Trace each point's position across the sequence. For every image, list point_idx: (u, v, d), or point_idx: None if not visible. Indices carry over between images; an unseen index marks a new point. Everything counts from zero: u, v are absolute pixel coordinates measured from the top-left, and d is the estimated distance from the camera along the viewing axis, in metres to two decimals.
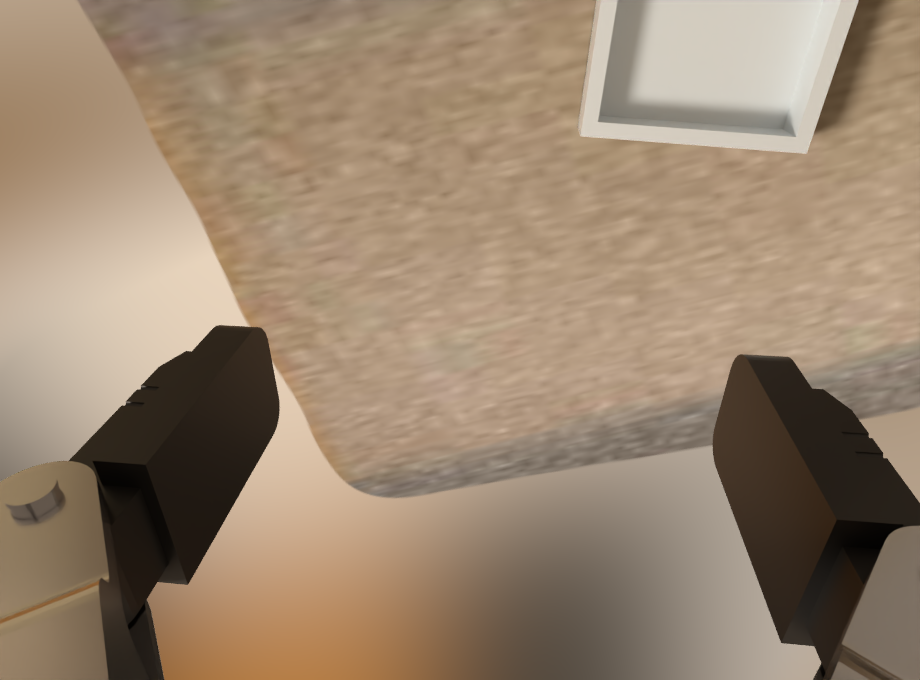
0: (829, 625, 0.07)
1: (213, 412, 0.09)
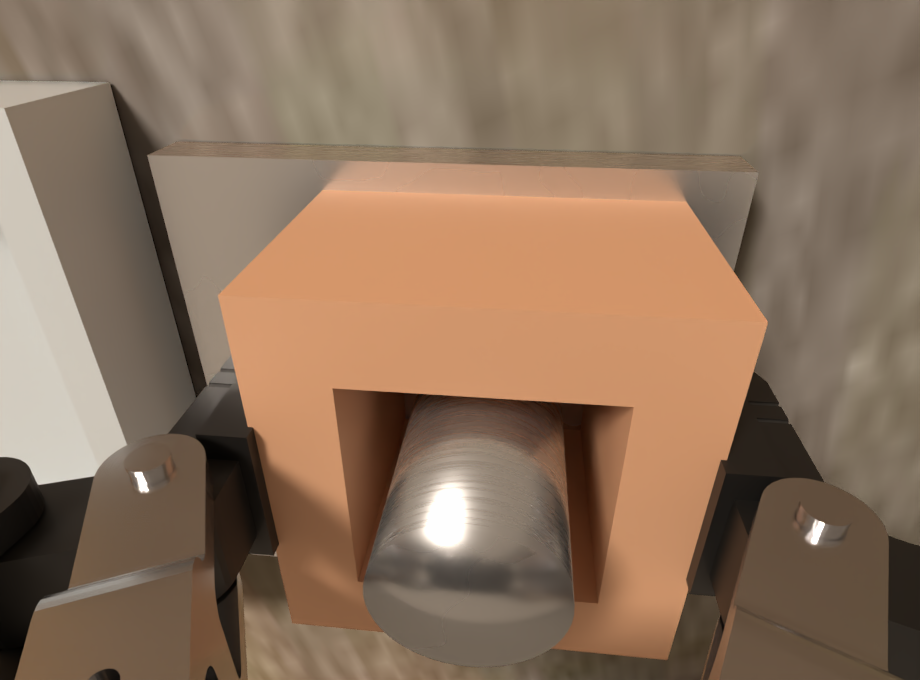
0: (725, 573, 0.07)
1: None
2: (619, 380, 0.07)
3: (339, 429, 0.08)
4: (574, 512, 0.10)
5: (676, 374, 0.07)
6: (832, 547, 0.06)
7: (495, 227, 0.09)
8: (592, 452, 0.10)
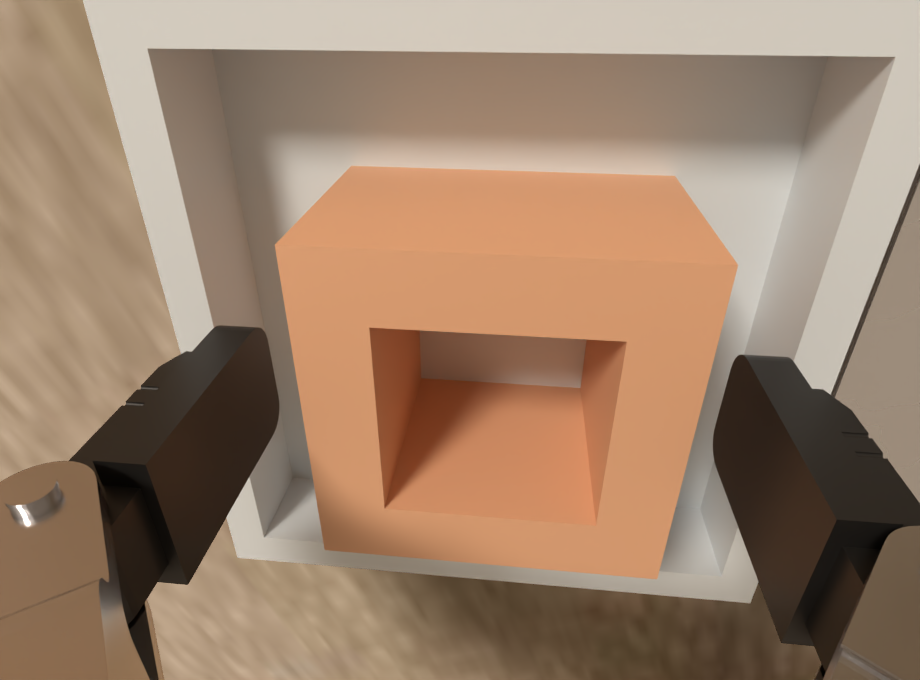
0: (829, 625, 0.07)
1: (213, 413, 0.09)
2: (614, 318, 0.08)
3: (373, 364, 0.09)
4: (575, 454, 0.12)
5: (662, 312, 0.08)
6: None
7: (507, 195, 0.10)
8: (591, 400, 0.12)
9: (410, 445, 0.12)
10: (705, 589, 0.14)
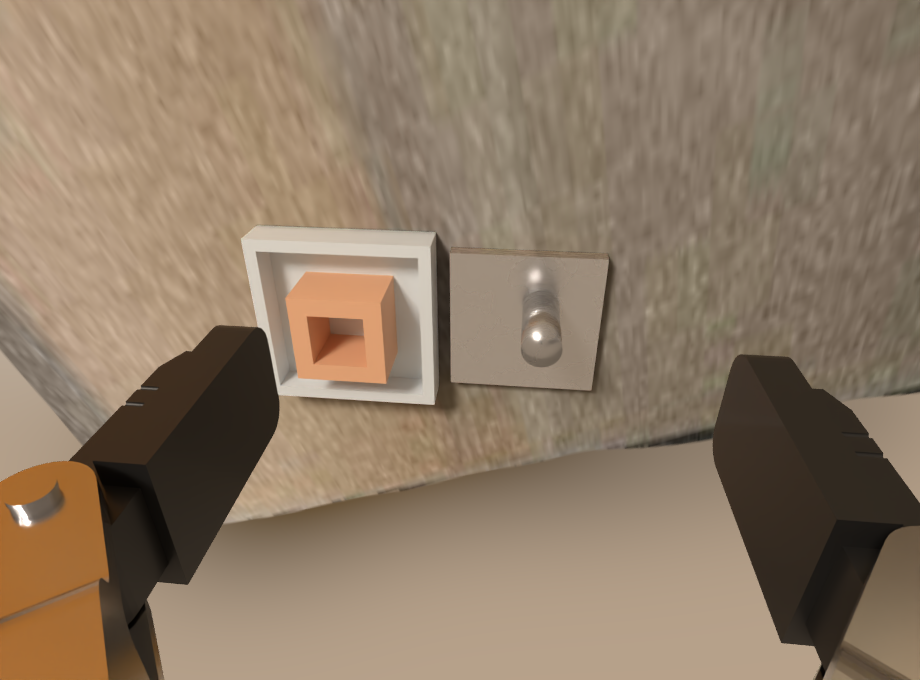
0: (829, 625, 0.07)
1: (213, 412, 0.09)
2: (358, 314, 0.38)
3: (308, 325, 0.39)
4: None
5: (368, 312, 0.38)
6: None
7: (343, 283, 0.40)
8: None
9: (323, 351, 0.41)
10: (419, 400, 0.43)
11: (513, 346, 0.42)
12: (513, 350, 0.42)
